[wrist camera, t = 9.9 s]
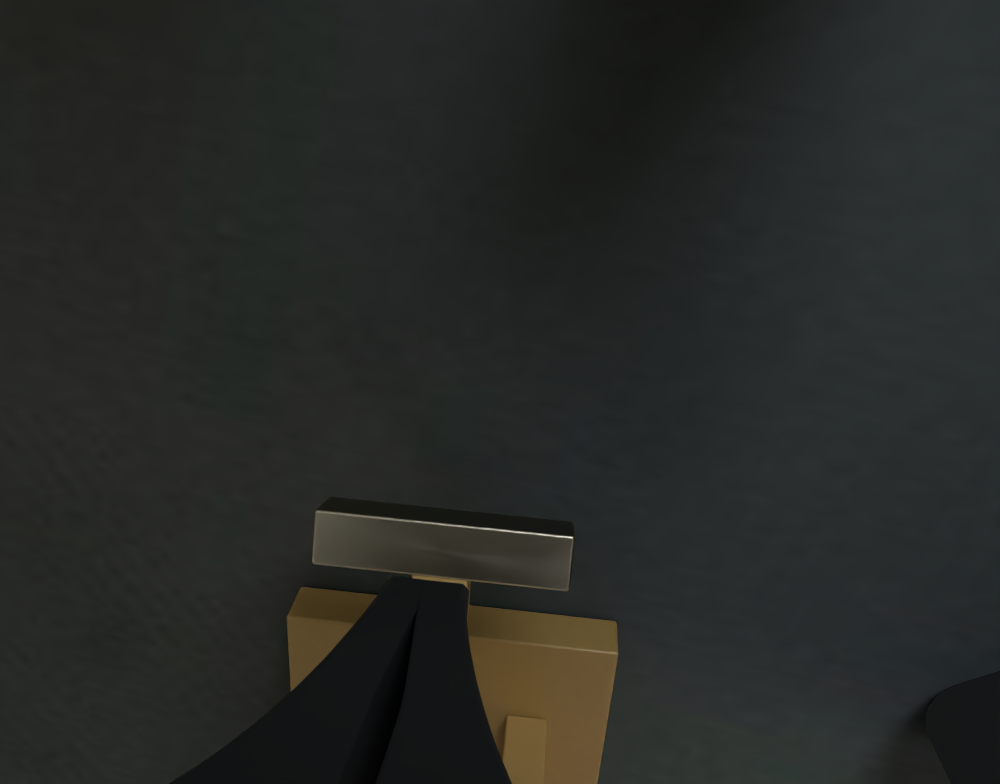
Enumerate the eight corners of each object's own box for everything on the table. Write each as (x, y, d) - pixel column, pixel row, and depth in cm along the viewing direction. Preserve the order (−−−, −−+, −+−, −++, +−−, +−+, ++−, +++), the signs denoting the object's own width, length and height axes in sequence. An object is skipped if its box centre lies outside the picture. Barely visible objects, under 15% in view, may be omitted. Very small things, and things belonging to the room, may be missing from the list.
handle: (337, 488, 18) (304, 517, 15) (572, 513, 18) (576, 546, 15) (305, 959, 19) (270, 1053, 17) (524, 988, 19) (520, 1088, 16)
